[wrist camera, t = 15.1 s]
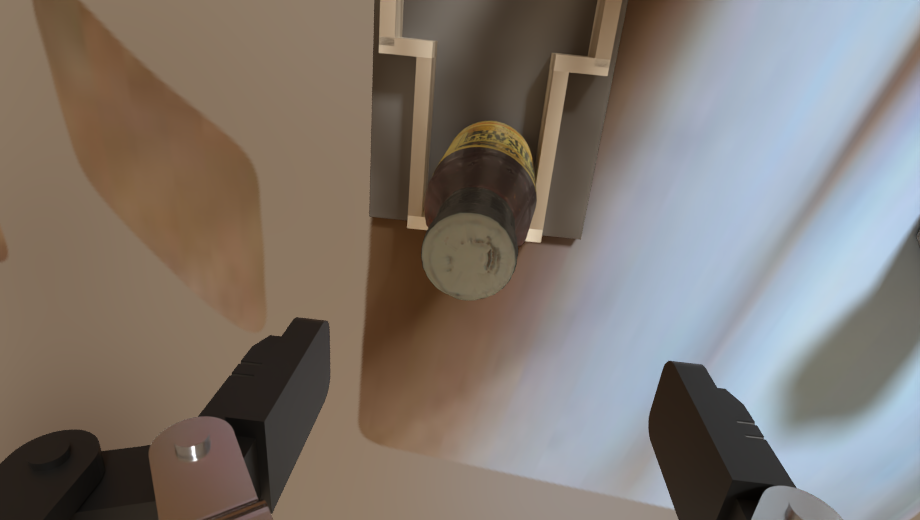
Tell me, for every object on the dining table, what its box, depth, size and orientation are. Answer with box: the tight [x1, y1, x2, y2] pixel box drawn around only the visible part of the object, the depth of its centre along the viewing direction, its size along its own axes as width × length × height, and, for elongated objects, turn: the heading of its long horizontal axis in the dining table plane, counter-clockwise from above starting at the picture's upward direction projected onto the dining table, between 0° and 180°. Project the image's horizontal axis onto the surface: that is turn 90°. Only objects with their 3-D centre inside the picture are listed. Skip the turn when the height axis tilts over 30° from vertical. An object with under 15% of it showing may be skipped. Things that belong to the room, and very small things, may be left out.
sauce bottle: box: [421, 121, 537, 300], centre depth 31 cm, size 6×6×20 cm
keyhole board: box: [369, 0, 628, 243], centre depth 36 cm, size 17×25×4 cm
